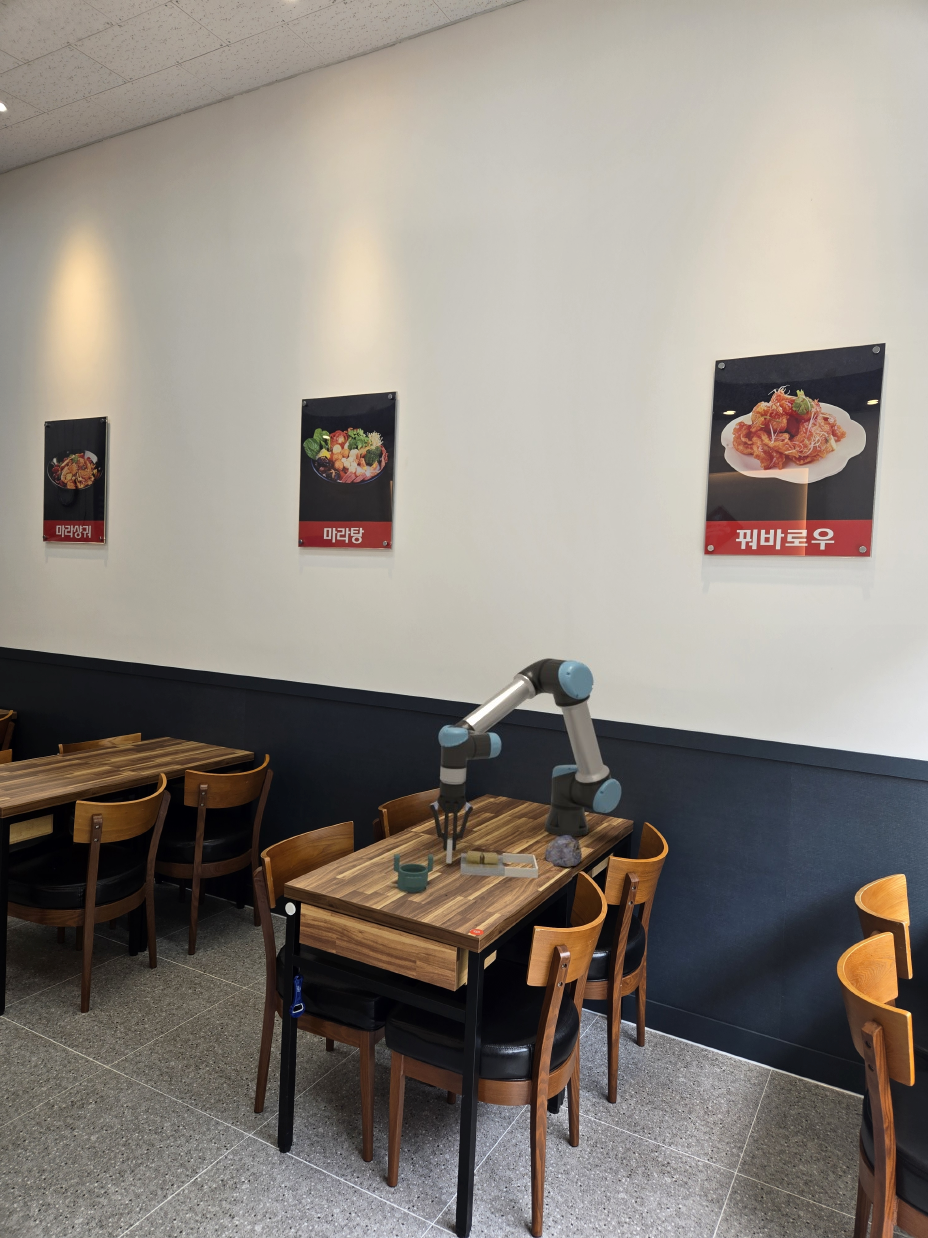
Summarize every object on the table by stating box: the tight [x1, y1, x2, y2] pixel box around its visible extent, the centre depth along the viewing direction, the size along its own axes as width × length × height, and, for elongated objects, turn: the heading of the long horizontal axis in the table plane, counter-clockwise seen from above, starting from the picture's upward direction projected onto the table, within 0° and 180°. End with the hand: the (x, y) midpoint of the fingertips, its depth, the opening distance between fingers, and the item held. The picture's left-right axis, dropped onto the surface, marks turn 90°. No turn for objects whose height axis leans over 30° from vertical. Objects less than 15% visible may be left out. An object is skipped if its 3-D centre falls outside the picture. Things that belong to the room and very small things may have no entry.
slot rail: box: [460, 852, 506, 877], centre depth 228 cm, size 12×13×3 cm
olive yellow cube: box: [466, 850, 483, 864], centre depth 228 cm, size 4×4×4 cm
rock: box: [544, 835, 583, 867], centre depth 239 cm, size 11×10×10 cm
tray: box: [502, 852, 539, 879], centre depth 228 cm, size 10×13×4 cm
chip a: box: [482, 852, 498, 865], centre depth 228 cm, size 4×4×4 cm
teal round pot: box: [393, 853, 434, 894], centre depth 212 cm, size 9×9×9 cm
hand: (449, 861), depth 228 cm, fingers closed
